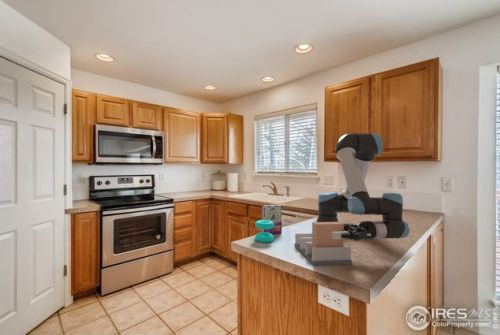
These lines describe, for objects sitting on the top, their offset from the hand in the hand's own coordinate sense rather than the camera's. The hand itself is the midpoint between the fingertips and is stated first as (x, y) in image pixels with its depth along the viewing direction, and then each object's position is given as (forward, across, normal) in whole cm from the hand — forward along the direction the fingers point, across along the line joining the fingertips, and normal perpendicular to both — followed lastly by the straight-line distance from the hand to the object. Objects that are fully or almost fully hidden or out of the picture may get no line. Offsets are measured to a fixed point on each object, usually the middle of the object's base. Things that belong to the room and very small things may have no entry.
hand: (324, 230), depth 99 cm
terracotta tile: (-1, 0, -11) cm, 11 cm away
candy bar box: (+13, +44, -13) cm, 47 cm away
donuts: (+20, +30, -13) cm, 38 cm away
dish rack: (-1, +7, -12) cm, 14 cm away
